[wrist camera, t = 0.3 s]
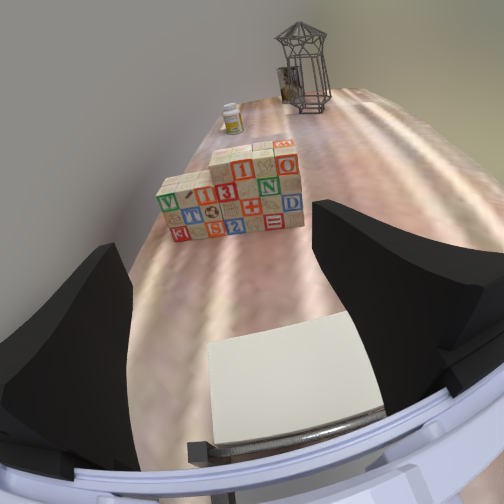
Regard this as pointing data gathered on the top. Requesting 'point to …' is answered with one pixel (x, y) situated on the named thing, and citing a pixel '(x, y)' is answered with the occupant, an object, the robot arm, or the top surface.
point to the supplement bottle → (232, 119)
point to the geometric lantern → (291, 37)
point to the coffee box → (285, 84)
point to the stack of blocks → (236, 193)
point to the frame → (265, 448)
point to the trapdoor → (292, 392)
